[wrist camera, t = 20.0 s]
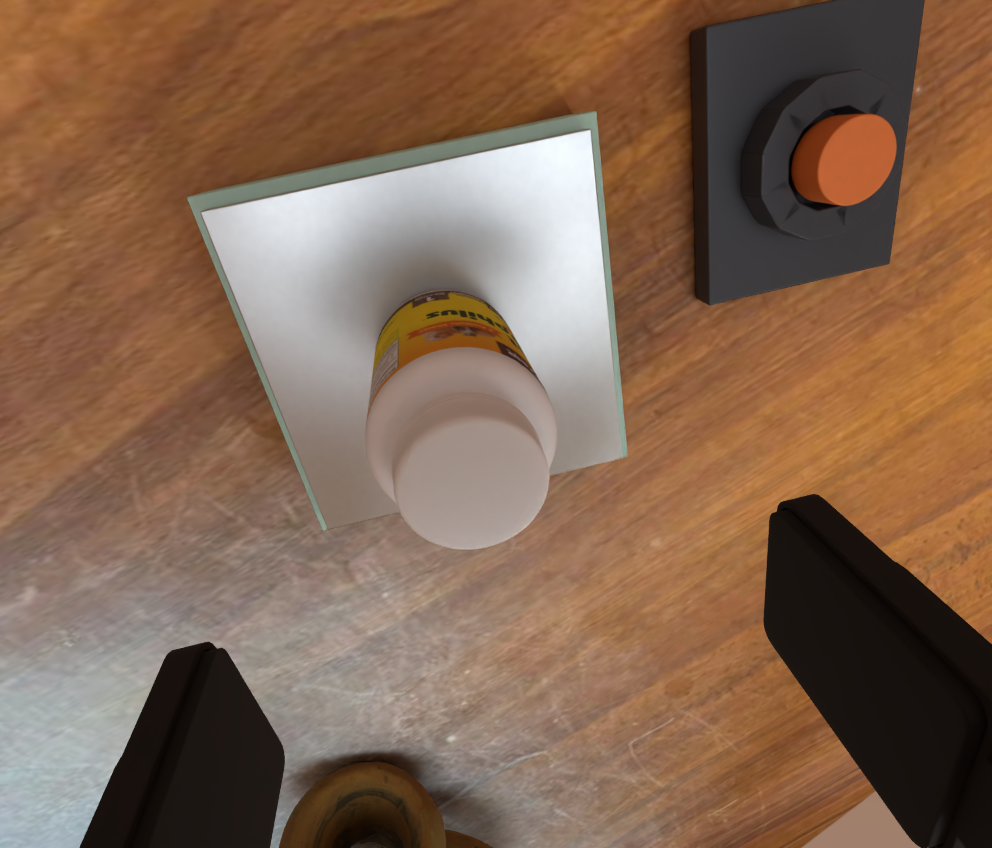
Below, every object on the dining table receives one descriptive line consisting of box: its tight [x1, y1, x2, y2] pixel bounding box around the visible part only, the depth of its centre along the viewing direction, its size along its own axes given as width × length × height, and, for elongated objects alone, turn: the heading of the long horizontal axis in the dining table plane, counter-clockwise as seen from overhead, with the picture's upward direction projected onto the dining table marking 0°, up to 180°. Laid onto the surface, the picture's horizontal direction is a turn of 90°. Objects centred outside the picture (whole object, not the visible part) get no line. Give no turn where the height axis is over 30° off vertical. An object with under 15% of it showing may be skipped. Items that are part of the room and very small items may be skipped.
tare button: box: [791, 114, 897, 206], centre depth 23 cm, size 3×3×2 cm
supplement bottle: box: [365, 290, 557, 550], centre depth 19 cm, size 6×6×10 cm
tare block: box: [690, 0, 925, 305], centre depth 25 cm, size 11×9×3 cm
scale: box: [187, 111, 627, 530], centre depth 25 cm, size 15×15×4 cm
